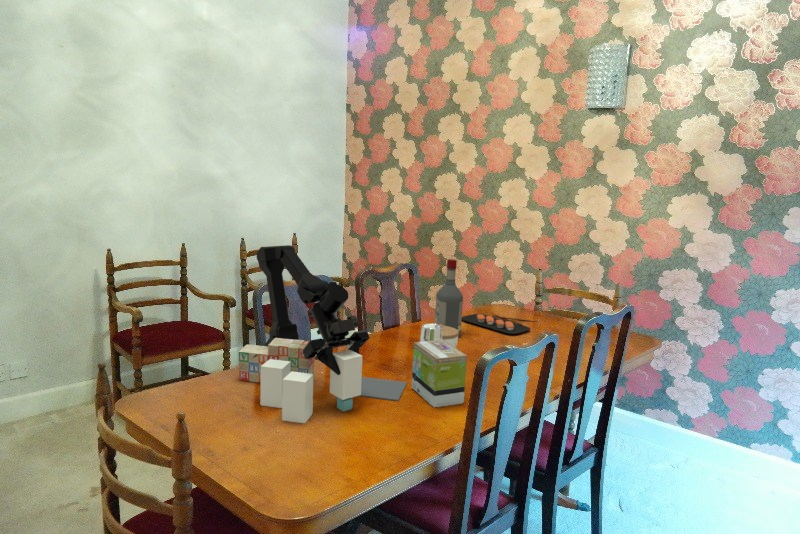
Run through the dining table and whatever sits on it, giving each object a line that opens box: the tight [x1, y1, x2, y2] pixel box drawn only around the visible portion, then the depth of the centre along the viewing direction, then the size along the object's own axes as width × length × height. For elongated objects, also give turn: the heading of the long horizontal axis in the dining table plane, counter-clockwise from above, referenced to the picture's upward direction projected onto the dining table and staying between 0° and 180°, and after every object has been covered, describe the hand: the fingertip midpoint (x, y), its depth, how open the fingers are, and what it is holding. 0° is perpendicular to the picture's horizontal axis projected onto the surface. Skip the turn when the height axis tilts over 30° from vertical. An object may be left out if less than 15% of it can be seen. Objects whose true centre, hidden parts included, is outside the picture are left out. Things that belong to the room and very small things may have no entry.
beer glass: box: [419, 323, 442, 342], centre depth 189 cm, size 7×7×15 cm
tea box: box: [411, 339, 468, 409], centre depth 169 cm, size 15×10×15 cm, turn 24°
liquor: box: [434, 258, 464, 338], centre depth 228 cm, size 9×9×30 cm
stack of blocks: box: [238, 338, 316, 384], centre depth 174 cm, size 21×6×12 cm, turn 81°
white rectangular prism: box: [329, 349, 363, 400], centre depth 157 cm, size 6×6×11 cm
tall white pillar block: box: [281, 371, 314, 424], centre depth 151 cm, size 6×6×11 cm
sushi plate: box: [461, 313, 539, 335], centre depth 253 cm, size 29×30×4 cm
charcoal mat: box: [358, 376, 408, 402], centre depth 173 cm, size 14×14×1 cm
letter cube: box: [336, 396, 354, 412], centre depth 159 cm, size 3×3×3 cm
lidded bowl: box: [440, 324, 459, 349], centre depth 206 cm, size 13×13×11 cm
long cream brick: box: [259, 359, 291, 409], centre depth 159 cm, size 6×6×11 cm
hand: (349, 371), depth 156 cm, fingers closed on white rectangular prism, 6 cm apart
